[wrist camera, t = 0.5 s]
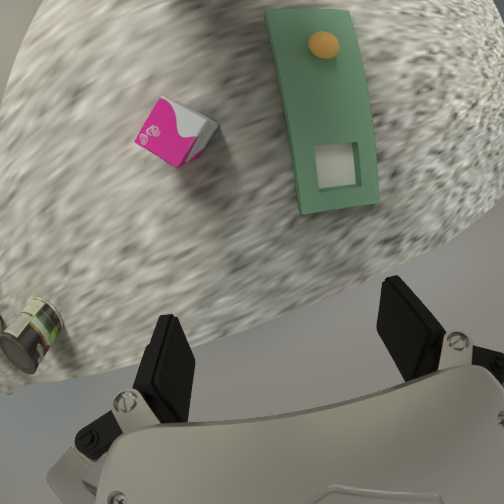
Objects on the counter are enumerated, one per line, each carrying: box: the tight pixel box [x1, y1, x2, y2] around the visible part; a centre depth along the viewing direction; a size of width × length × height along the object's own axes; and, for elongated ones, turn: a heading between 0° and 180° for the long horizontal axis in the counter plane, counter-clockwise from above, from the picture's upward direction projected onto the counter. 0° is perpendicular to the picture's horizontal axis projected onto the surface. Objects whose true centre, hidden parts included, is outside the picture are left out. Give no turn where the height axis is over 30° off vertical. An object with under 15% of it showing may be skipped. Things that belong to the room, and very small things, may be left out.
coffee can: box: [0, 297, 63, 374], centre depth 40 cm, size 10×10×14 cm
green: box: [264, 8, 379, 215], centre depth 32 cm, size 30×12×2 cm, turn 10°
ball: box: [308, 31, 340, 59], centre depth 25 cm, size 4×4×4 cm
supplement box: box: [135, 96, 219, 168], centre depth 29 cm, size 6×6×12 cm
